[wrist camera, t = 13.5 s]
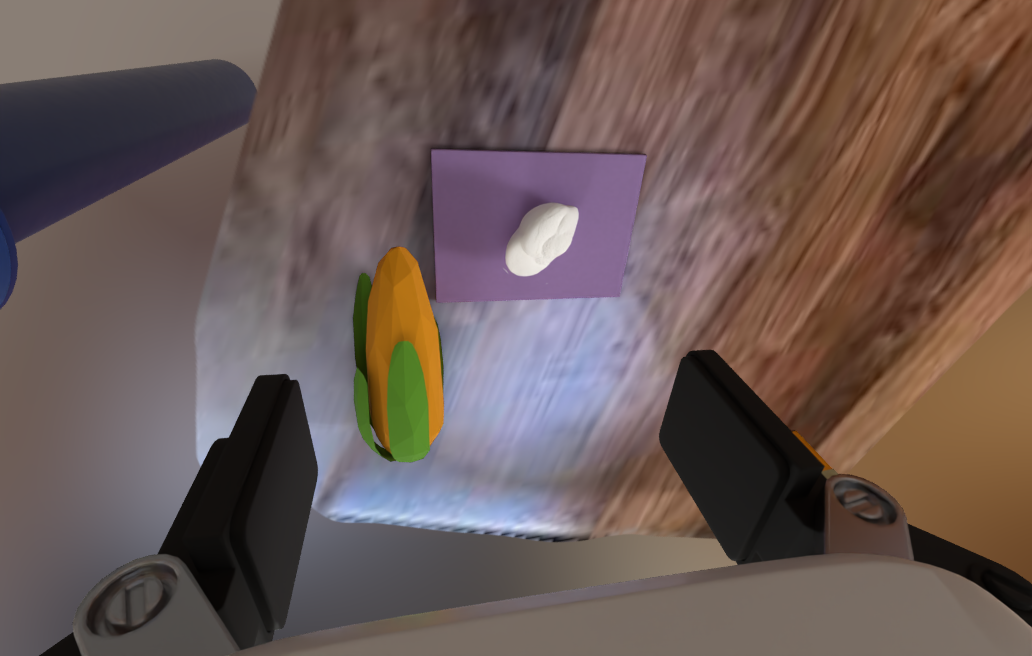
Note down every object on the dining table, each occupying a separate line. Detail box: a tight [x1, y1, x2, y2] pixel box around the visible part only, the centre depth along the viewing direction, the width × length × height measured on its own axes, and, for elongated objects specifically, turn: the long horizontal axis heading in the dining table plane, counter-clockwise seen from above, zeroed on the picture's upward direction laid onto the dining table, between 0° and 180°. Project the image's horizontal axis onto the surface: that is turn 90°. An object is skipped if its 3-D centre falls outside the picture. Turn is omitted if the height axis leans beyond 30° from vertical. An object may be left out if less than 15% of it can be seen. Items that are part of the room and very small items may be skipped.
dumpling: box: [503, 202, 579, 276], centre depth 35 cm, size 7×5×4 cm
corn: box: [353, 247, 444, 462], centre depth 37 cm, size 7×8×20 cm
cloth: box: [431, 149, 647, 303], centre depth 37 cm, size 16×12×1 cm
